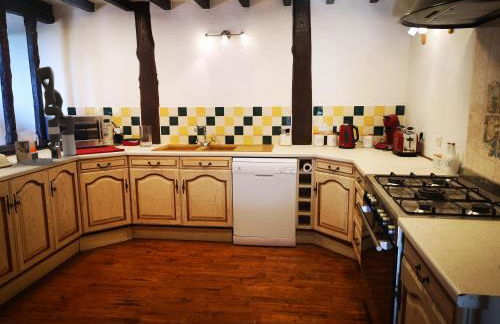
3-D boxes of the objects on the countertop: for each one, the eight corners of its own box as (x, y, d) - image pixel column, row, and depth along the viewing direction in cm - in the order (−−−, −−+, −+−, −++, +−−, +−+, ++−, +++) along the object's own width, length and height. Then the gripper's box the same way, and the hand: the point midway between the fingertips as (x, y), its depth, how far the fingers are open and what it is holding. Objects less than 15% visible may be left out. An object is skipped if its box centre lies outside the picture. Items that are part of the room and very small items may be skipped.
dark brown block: (54, 157, 284) (53, 148, 283) (61, 158, 283) (60, 149, 282) (51, 158, 281) (50, 149, 280) (58, 158, 280) (57, 149, 279)
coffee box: (32, 161, 281) (30, 140, 278) (30, 162, 275) (28, 141, 272) (18, 162, 277) (15, 140, 275) (16, 163, 272) (14, 141, 269)
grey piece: (34, 162, 278) (33, 151, 277) (54, 162, 275) (53, 152, 274) (23, 164, 268) (22, 153, 266) (43, 165, 265) (42, 154, 263)
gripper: (56, 131, 286) (58, 153, 289) (42, 133, 272) (45, 156, 276) (64, 132, 285) (66, 154, 288) (51, 134, 271) (54, 157, 274)
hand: (56, 155), depth 282 cm, fingers closed on dark brown block, 3 cm apart
